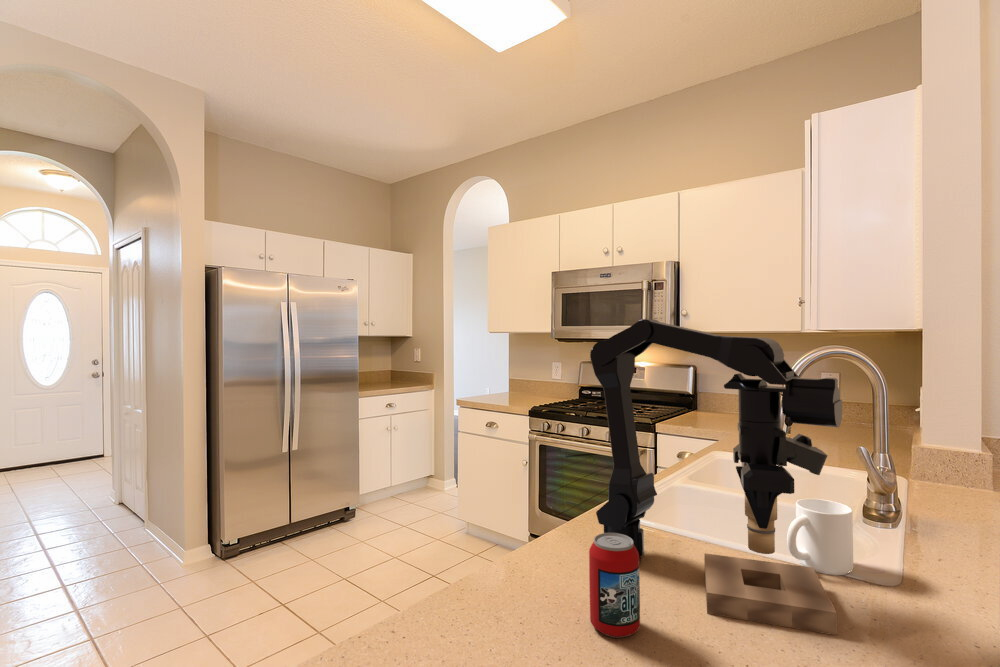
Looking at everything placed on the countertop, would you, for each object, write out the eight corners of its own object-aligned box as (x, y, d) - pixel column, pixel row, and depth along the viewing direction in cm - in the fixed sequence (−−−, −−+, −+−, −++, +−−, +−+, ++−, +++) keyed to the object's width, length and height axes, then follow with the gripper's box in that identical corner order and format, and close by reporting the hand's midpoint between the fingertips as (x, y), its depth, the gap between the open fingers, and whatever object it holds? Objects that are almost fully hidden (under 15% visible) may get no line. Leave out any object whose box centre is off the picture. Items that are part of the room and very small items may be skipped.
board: (707, 613, 72) (706, 592, 72) (704, 570, 86) (704, 553, 86) (837, 635, 67) (836, 612, 67) (813, 586, 80) (812, 567, 80)
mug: (809, 583, 81) (808, 519, 81) (768, 561, 89) (767, 503, 89) (865, 572, 84) (864, 511, 84) (821, 552, 92) (820, 496, 92)
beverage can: (611, 647, 65) (610, 554, 65) (580, 621, 71) (579, 536, 71) (651, 633, 68) (649, 543, 68) (617, 609, 74) (616, 527, 74)
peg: (746, 552, 75) (746, 485, 75) (743, 541, 79) (743, 477, 79) (780, 557, 73) (779, 488, 74) (775, 545, 78) (774, 480, 78)
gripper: (838, 434, 65) (840, 555, 65) (807, 413, 82) (808, 508, 82) (743, 429, 69) (744, 543, 69) (732, 410, 86) (733, 501, 86)
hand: (760, 522), depth 76 cm, fingers closed on peg, 4 cm apart
